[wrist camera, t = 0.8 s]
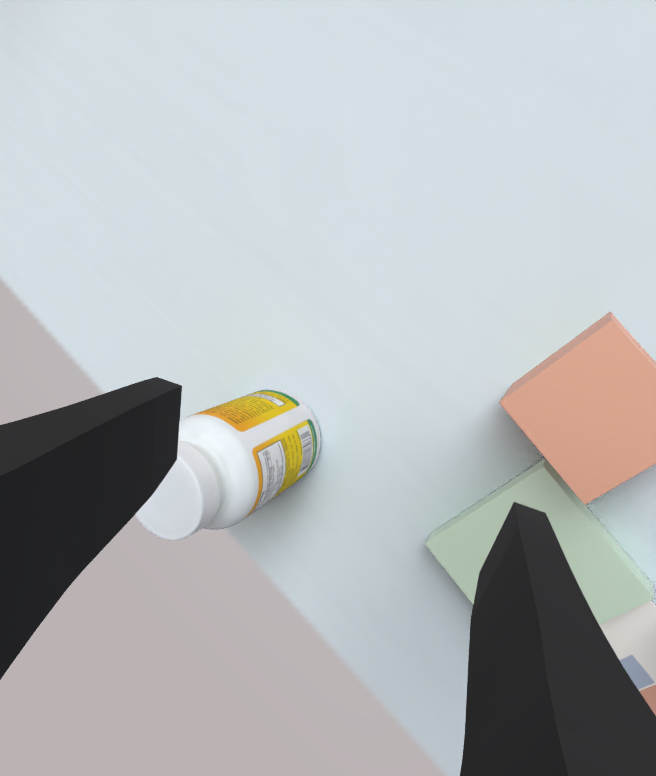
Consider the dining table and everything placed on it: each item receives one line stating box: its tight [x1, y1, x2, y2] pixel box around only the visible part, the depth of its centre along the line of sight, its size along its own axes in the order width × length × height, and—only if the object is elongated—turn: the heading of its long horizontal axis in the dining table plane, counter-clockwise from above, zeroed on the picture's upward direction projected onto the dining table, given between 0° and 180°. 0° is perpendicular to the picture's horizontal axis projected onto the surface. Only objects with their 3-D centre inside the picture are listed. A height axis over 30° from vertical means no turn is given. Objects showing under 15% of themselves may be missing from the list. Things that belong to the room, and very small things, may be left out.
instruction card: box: [599, 600, 656, 715], centre depth 26 cm, size 6×6×1 cm
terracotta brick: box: [499, 312, 656, 505], centre depth 23 cm, size 5×5×4 cm
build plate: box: [425, 458, 655, 625], centre depth 26 cm, size 7×7×1 cm
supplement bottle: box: [135, 389, 321, 540], centre depth 27 cm, size 5×5×10 cm
